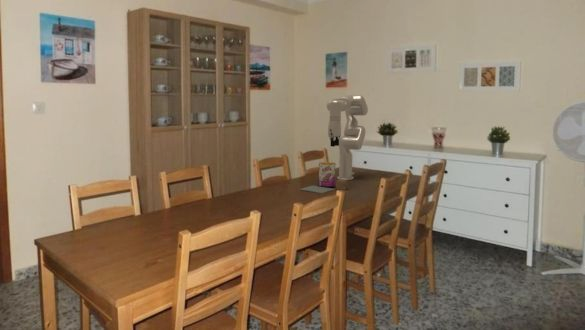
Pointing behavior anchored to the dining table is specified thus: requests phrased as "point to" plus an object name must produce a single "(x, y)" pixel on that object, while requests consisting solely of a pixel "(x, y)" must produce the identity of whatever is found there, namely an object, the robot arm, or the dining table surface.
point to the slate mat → (317, 189)
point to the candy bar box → (326, 174)
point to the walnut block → (341, 184)
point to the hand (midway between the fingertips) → (334, 145)
